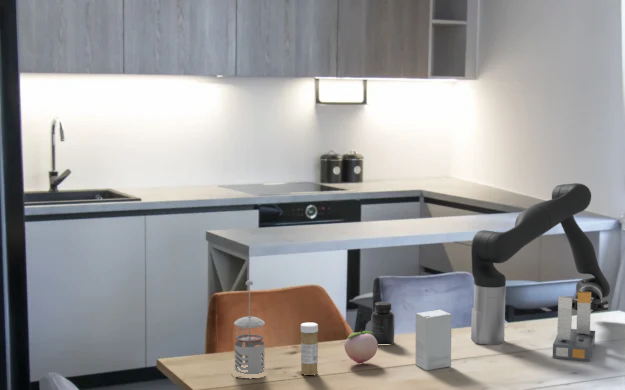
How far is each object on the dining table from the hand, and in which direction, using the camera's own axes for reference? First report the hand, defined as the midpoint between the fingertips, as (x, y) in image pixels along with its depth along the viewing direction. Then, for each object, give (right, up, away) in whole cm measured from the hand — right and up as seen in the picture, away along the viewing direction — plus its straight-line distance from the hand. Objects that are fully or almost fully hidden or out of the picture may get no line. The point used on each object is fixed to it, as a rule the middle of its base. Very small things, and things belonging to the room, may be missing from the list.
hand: (584, 309), depth 273 cm
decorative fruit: (-67, -13, -20) cm, 71 cm away
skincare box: (-48, -13, -22) cm, 54 cm away
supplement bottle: (-59, -10, +2) cm, 60 cm away
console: (-5, -11, -6) cm, 13 cm away
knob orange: (-1, -6, -3) cm, 7 cm away
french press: (-97, -13, -29) cm, 102 cm away
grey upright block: (-9, -7, -10) cm, 15 cm away
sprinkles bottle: (-81, -13, -29) cm, 87 cm away
